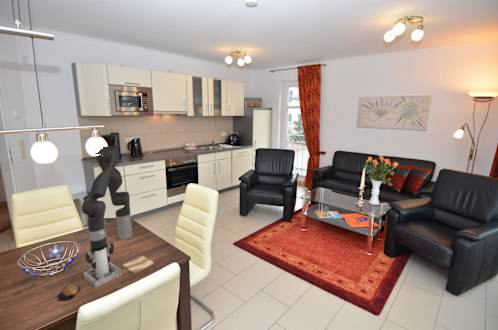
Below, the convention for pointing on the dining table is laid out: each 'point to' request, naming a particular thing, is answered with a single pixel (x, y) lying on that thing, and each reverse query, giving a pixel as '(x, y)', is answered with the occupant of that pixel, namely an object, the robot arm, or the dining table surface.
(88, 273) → the square frame
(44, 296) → the dining table surface
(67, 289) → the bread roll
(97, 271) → the travel mug
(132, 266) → the square tan coaster
